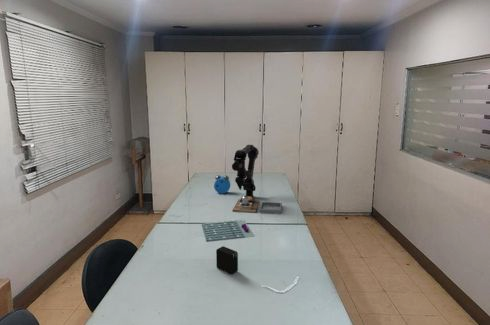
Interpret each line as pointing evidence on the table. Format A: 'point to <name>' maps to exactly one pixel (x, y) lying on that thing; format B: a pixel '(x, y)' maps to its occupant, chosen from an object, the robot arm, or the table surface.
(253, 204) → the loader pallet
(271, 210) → the gray square frame
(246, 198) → the cylinder
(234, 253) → the electronic device
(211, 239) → the calendar
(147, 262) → the table surface
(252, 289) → the table surface
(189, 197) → the table surface
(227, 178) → the alarm clock
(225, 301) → the table surface
